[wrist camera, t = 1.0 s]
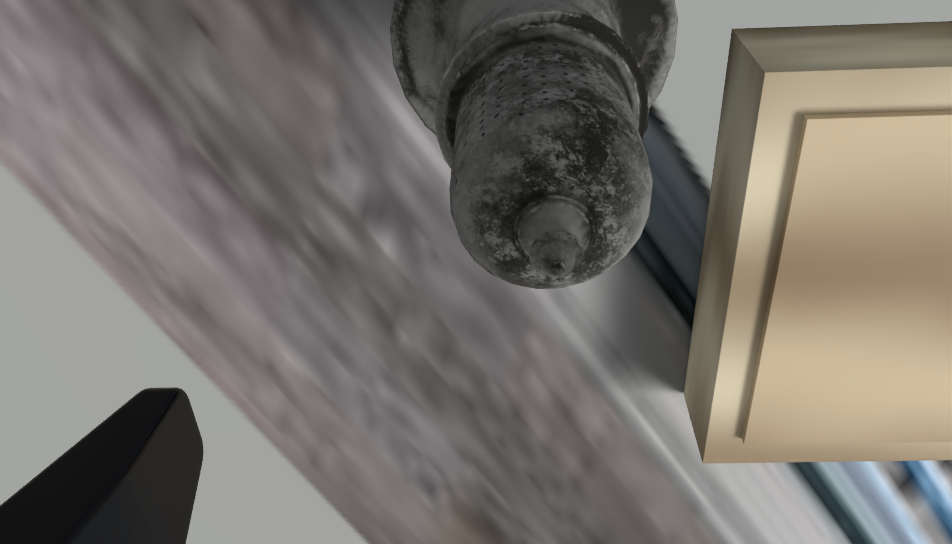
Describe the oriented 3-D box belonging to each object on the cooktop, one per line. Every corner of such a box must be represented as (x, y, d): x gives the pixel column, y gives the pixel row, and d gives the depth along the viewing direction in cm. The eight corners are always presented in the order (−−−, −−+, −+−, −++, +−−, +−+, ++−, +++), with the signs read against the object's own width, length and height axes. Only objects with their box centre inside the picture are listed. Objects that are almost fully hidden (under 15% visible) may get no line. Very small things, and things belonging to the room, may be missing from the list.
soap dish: (1061, 388, 26) (1126, 464, 24) (683, 394, 27) (704, 469, 24) (1239, 11, 20) (1356, 58, 17) (731, 29, 20) (768, 76, 17)
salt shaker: (360, 22, 20) (229, 314, 10) (501, -201, 18) (508, -97, 8) (548, 150, 22) (590, 502, 12) (702, -35, 19) (919, 225, 9)
